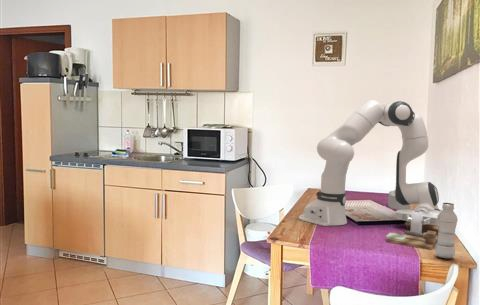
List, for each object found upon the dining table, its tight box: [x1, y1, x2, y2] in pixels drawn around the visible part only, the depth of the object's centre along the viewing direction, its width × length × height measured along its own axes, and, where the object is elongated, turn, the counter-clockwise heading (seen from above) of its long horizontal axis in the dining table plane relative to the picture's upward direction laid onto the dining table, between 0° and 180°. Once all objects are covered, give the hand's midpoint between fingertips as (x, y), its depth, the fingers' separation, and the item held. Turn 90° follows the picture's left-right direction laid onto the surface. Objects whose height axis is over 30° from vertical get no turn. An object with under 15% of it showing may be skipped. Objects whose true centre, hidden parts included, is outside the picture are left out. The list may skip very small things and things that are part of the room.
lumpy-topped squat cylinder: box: [387, 189, 410, 210], centre depth 238 cm, size 10×13×9 cm
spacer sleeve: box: [409, 209, 423, 234], centre depth 186 cm, size 4×4×10 cm
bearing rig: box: [385, 229, 437, 251], centre depth 176 cm, size 18×12×5 cm, turn 56°
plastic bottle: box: [434, 202, 459, 260], centre depth 157 cm, size 6×7×20 cm
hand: (416, 221), depth 185 cm, fingers closed on spacer sleeve, 4 cm apart
